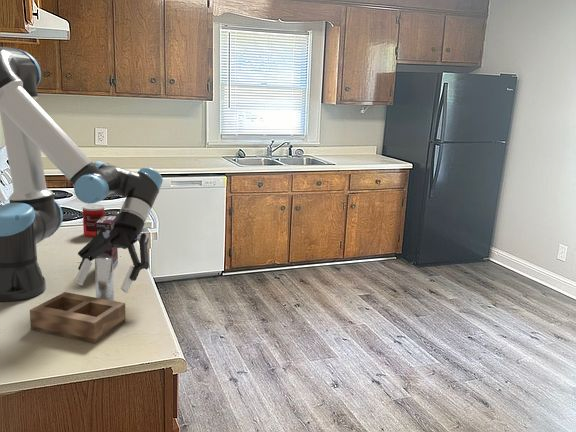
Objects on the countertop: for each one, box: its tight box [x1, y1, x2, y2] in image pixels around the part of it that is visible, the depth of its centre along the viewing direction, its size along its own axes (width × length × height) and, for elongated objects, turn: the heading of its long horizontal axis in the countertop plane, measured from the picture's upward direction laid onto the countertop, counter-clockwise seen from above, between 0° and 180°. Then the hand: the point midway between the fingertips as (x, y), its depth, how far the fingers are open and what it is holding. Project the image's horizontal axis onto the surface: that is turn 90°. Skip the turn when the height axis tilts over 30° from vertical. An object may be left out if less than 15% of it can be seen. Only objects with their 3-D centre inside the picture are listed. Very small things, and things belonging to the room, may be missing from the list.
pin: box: [94, 255, 115, 301], centre depth 136 cm, size 4×4×13 cm
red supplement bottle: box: [82, 203, 106, 238], centre depth 197 cm, size 8×8×11 cm
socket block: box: [29, 291, 127, 344], centre depth 125 cm, size 17×12×5 cm
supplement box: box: [95, 215, 119, 271], centre depth 163 cm, size 9×5×16 cm, turn 6°
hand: (100, 286), depth 135 cm, fingers open, 13 cm apart
